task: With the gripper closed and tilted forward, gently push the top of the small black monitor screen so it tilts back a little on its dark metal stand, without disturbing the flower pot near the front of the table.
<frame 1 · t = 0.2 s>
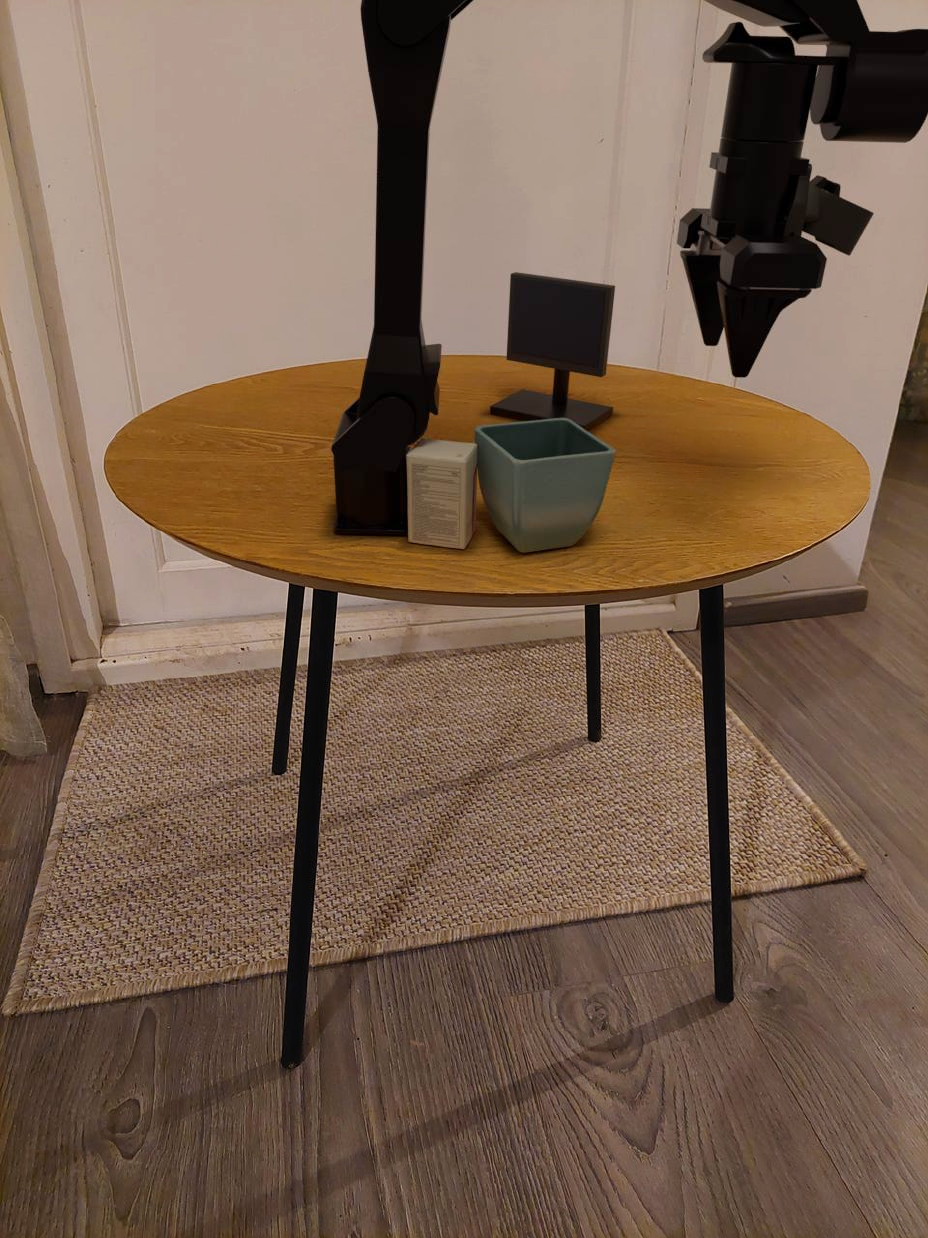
hand: (724, 360, 72), 15 cm above the table, tool pointing down, fingers open, 9 cm apart
monitor screen: (558, 324, 100), point 10 cm above the table, hinge at 0.0°
monitor stand: (551, 414, 105), on the table
flower pot: (535, 540, 77), on the table
small box: (442, 538, 77), on the table
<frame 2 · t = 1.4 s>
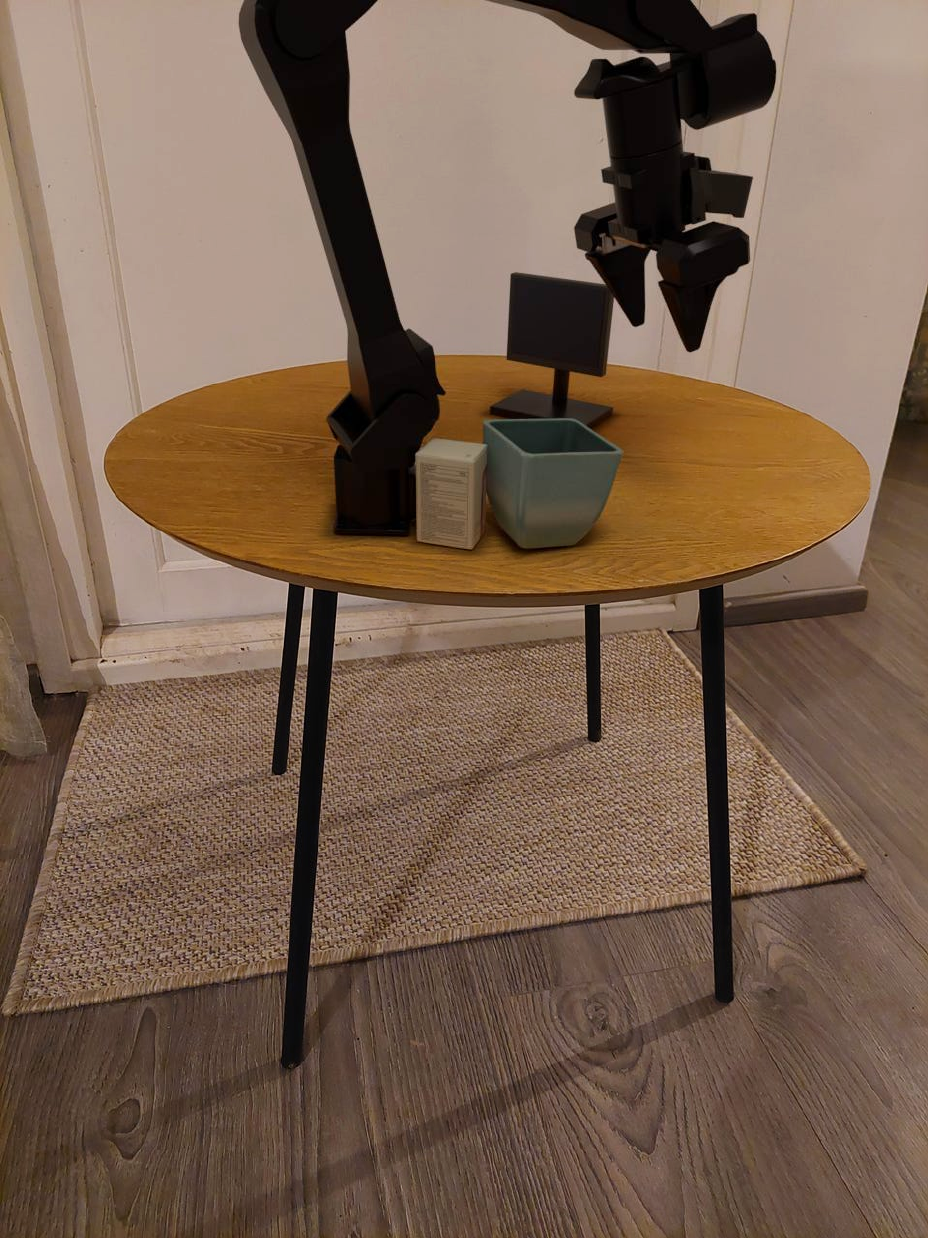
hand: (664, 337, 81), 14 cm above the table, tool tilted 15°, fingers open, 9 cm apart
flower pot: (536, 538, 77), on the table, touching small box
small box: (451, 538, 77), on the table, touching arm, flower pot
everything else where it was.
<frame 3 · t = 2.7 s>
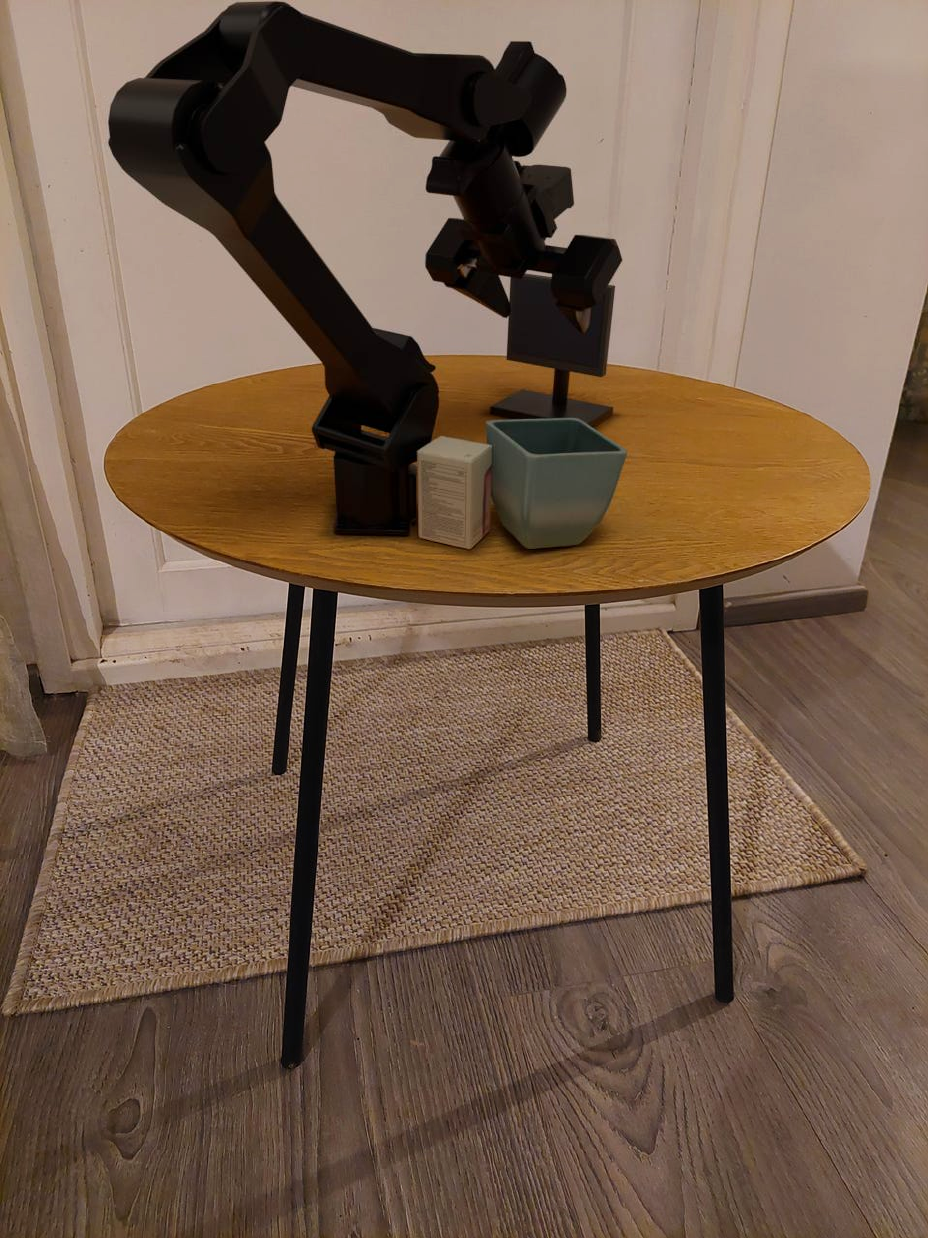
hand: (545, 321, 91), 13 cm above the table, tool tilted 40°, fingers open, 9 cm apart
small box: (454, 537, 77), on the table, touching flower pot
everything else where it was.
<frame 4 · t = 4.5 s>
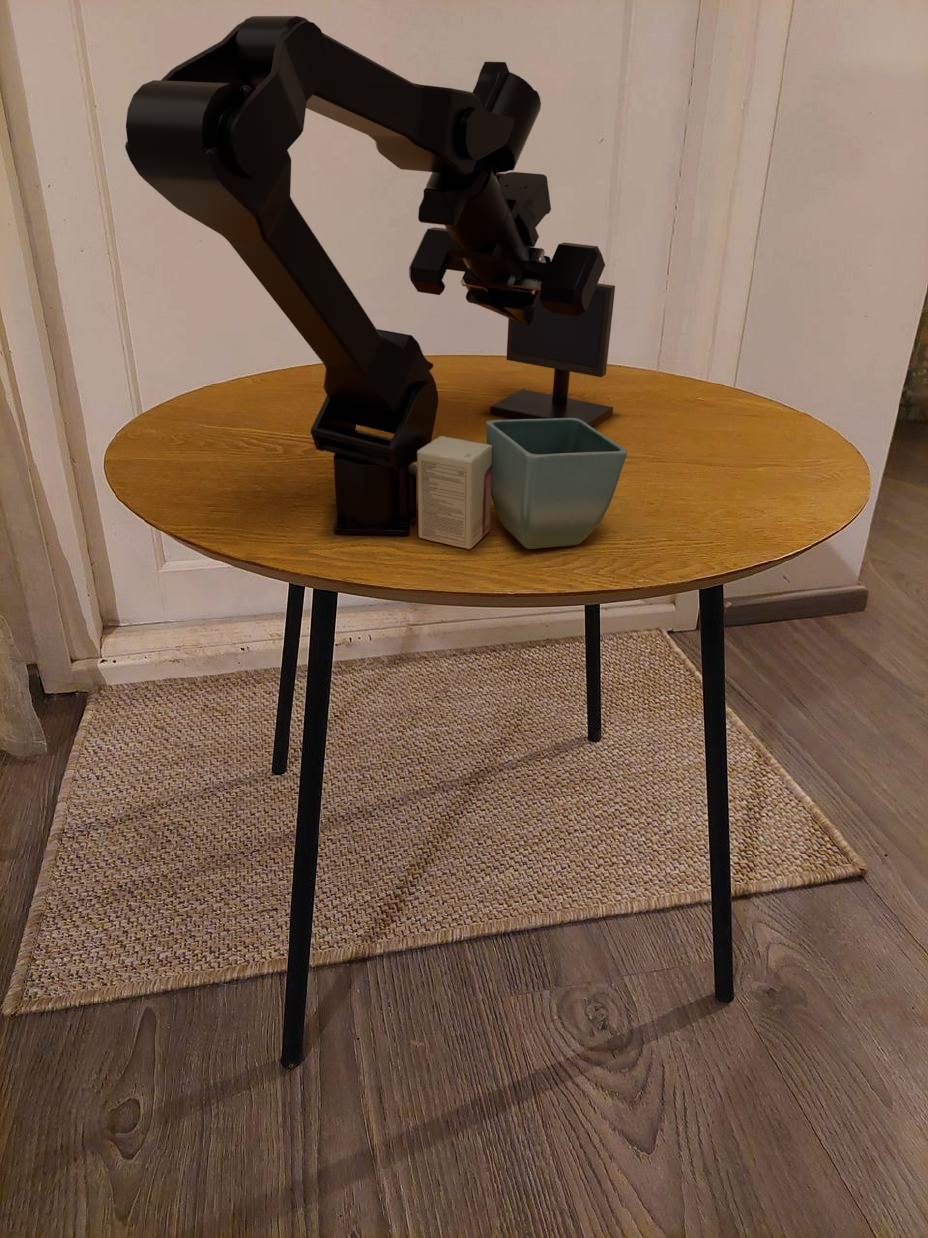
hand: (528, 320, 94), 12 cm above the table, tool tilted 45°, fingers closed
nothing on the table moved.
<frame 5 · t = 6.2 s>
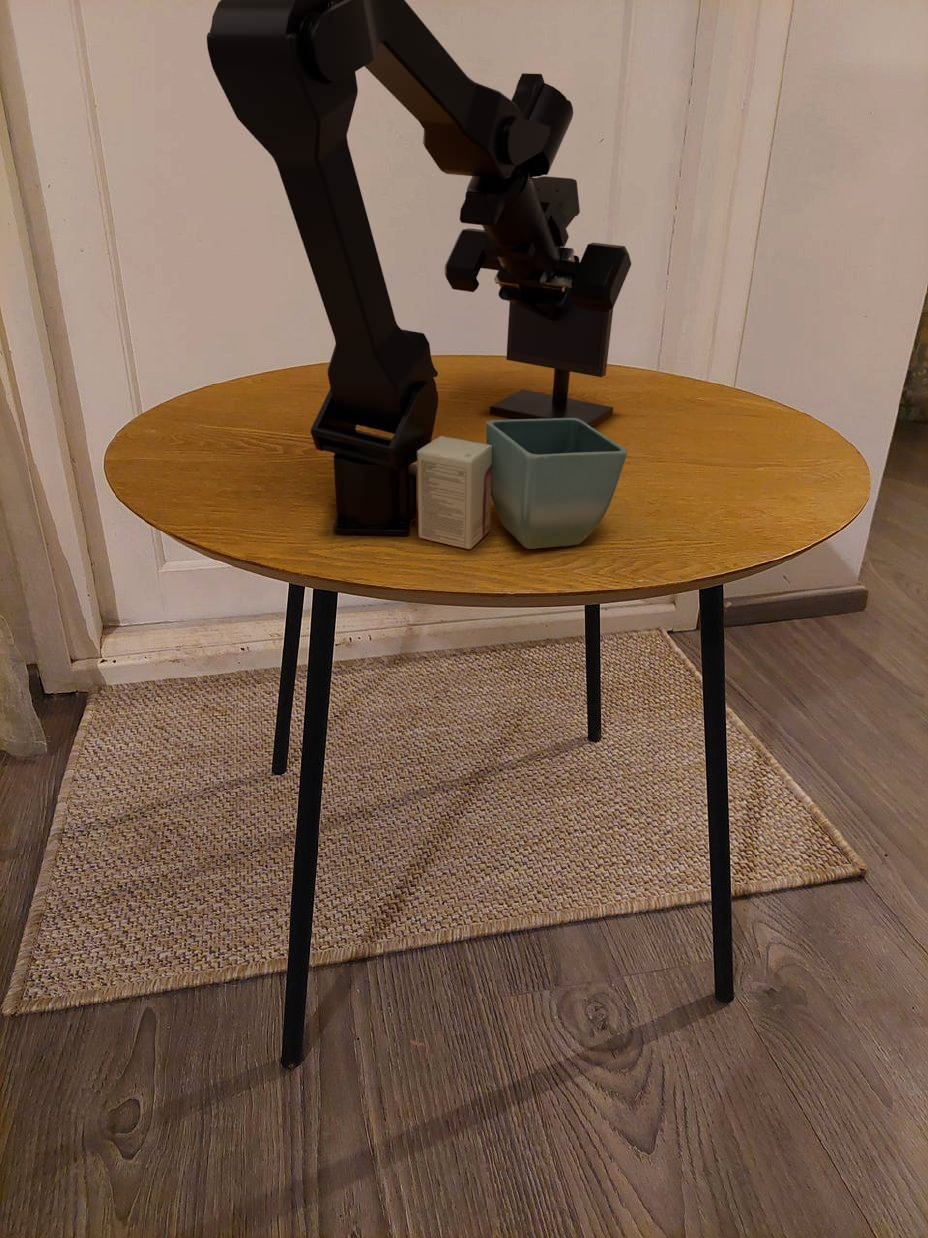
hand: (555, 317, 99), 11 cm above the table, tool tilted 45°, fingers closed, pressing on monitor screen
monitor screen: (558, 324, 100), point 10 cm above the table, hinge at 1.1°, touching gripper
everything else where it was.
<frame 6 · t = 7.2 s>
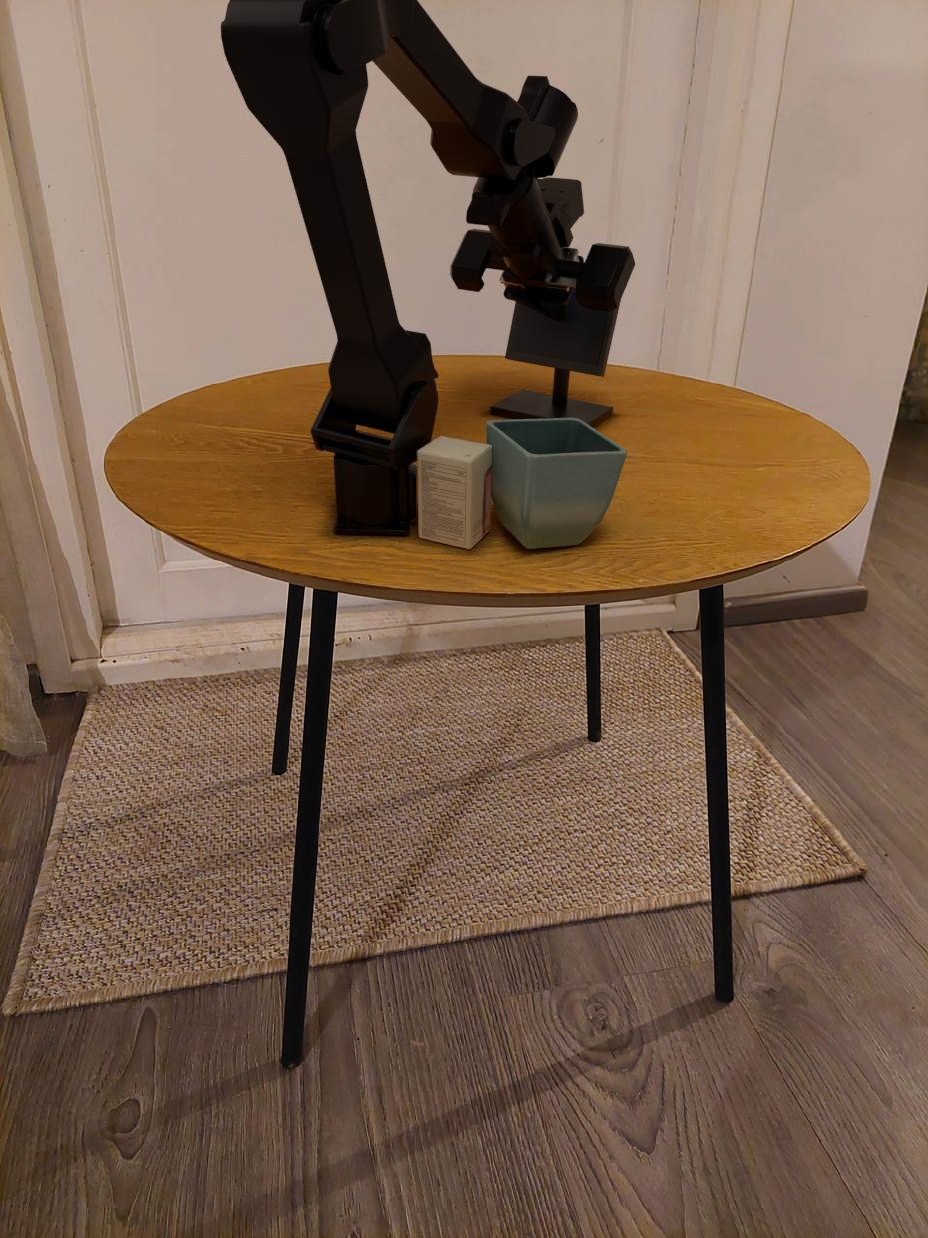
hand: (560, 316, 100), 11 cm above the table, tool tilted 45°, fingers closed
monitor screen: (562, 324, 101), point 10 cm above the table, hinge at 18.0°
everything else where it was.
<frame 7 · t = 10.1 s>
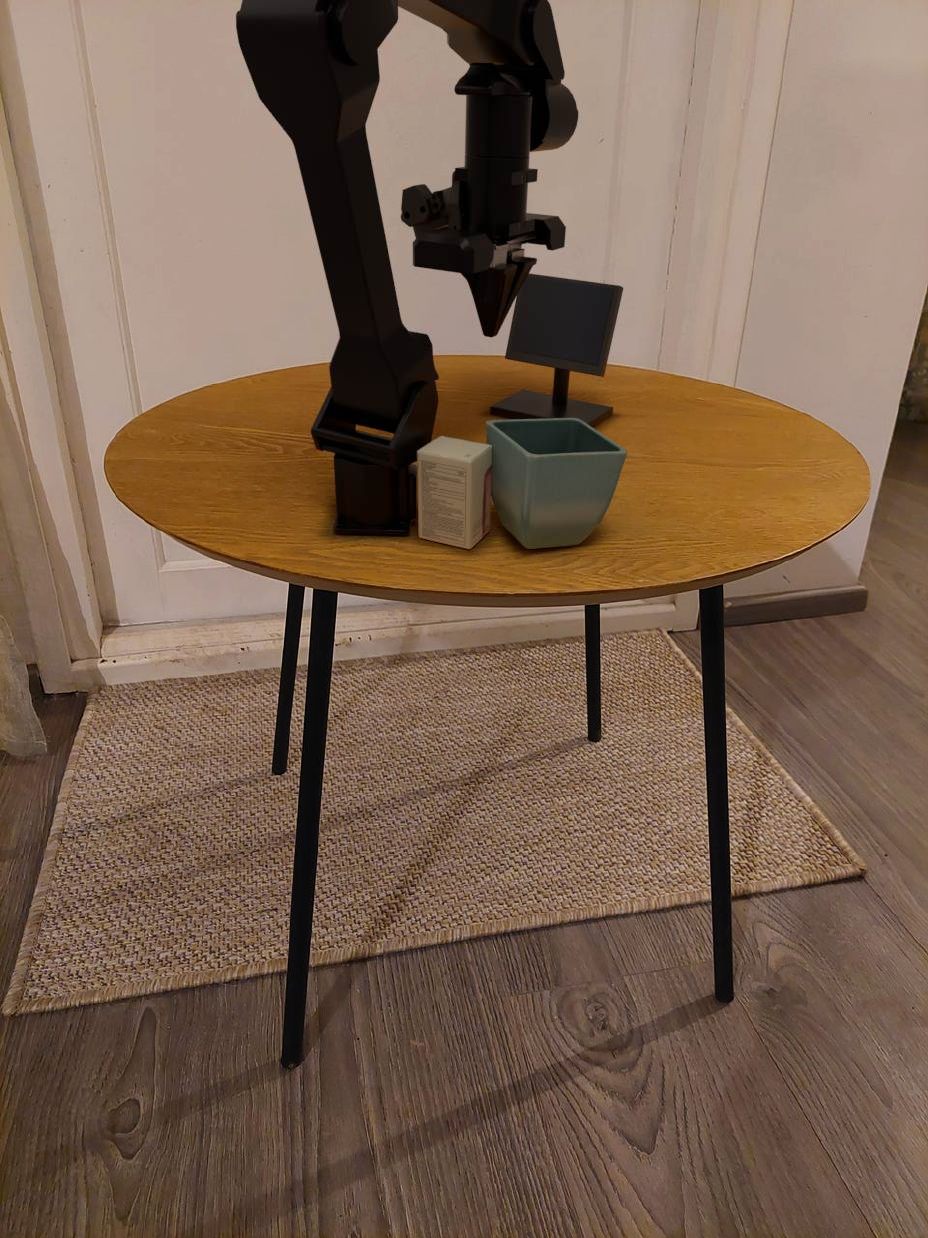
hand: (490, 336, 88), 12 cm above the table, tool pointing down, fingers closed
nothing on the table moved.
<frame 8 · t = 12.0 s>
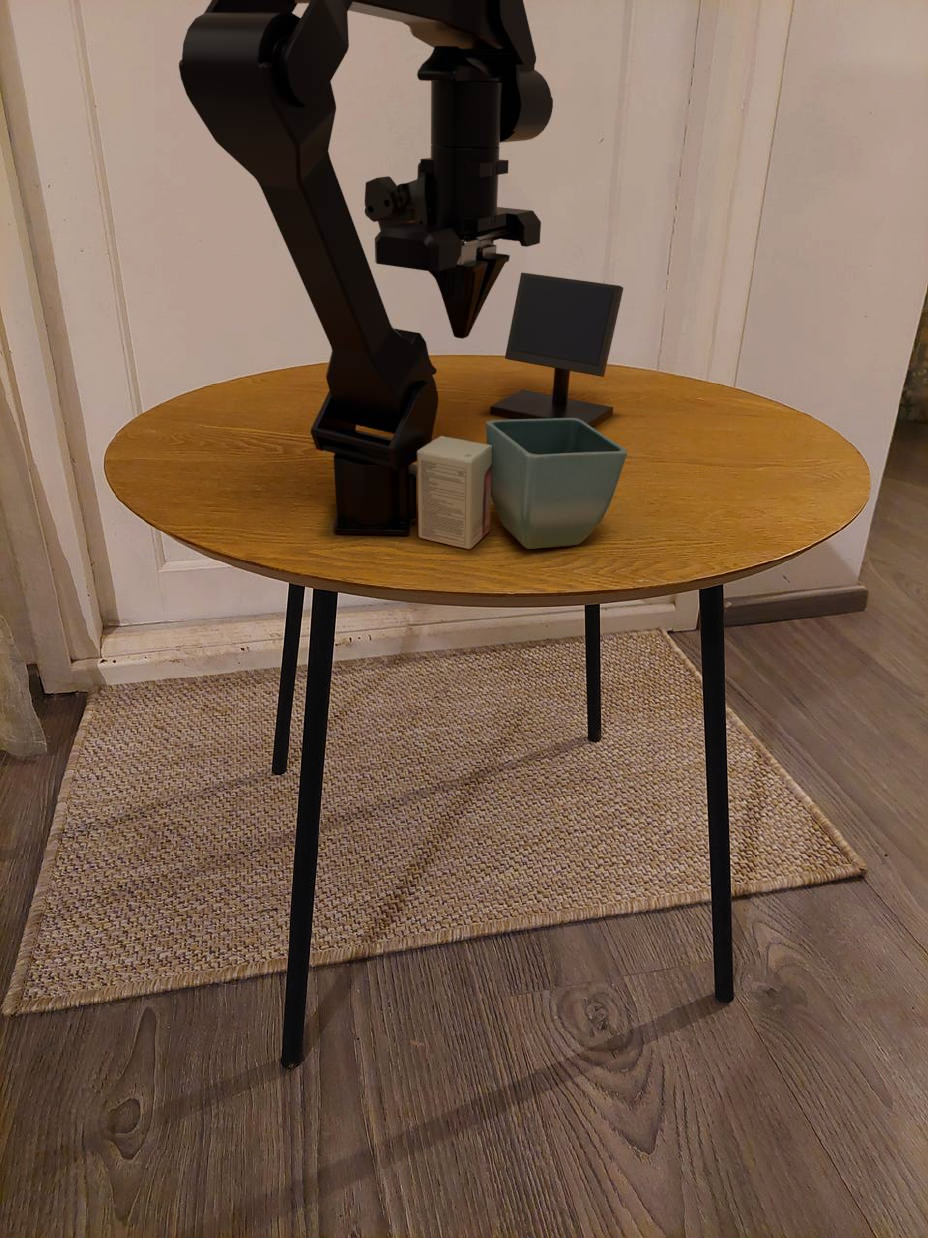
hand: (460, 337, 83), 13 cm above the table, tool pointing down, fingers closed
nothing on the table moved.
at the end: monitor screen at +18° (first picture: +0°); flower pot moved 0.5 cm from its start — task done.
